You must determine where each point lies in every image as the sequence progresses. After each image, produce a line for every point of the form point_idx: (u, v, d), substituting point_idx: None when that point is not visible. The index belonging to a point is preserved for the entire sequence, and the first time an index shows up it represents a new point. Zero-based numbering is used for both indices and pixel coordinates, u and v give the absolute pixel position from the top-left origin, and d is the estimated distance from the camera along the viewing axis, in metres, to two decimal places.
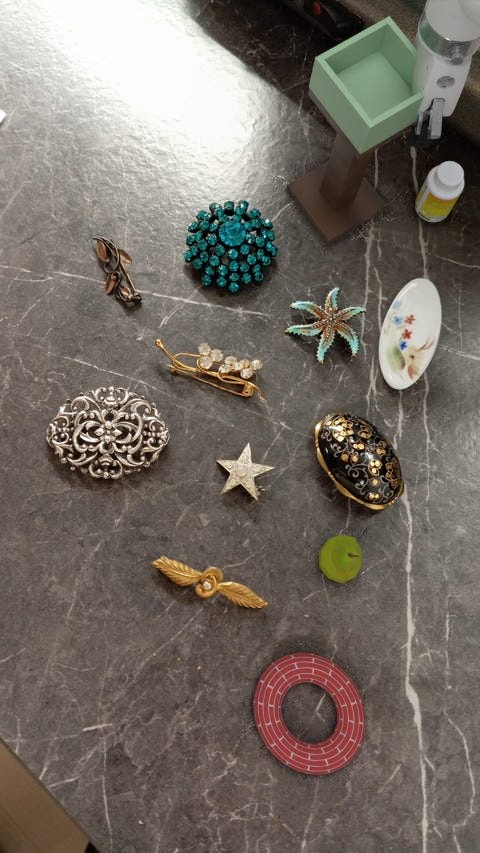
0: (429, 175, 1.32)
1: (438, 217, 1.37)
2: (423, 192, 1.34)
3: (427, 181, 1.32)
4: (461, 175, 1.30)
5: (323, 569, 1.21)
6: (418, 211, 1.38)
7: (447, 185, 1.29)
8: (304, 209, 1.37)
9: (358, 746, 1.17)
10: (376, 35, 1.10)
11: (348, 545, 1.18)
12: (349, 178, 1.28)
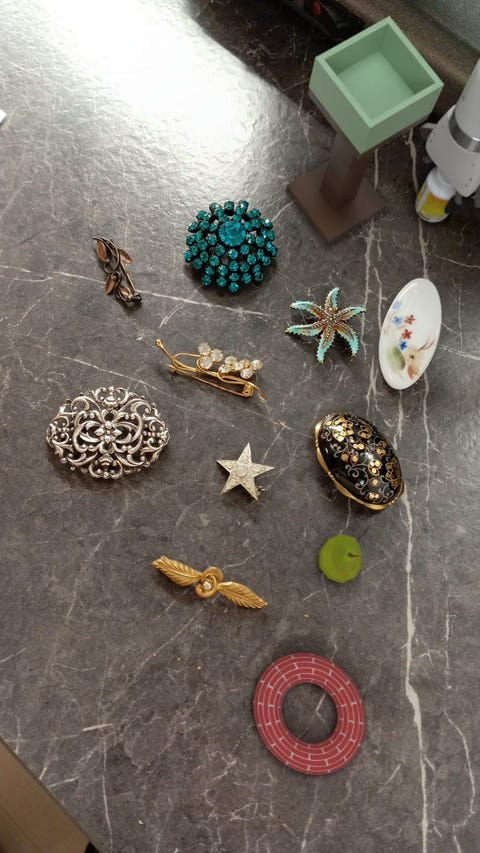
0: (429, 175, 1.32)
1: (438, 217, 1.37)
2: (423, 192, 1.34)
3: (427, 181, 1.32)
4: None
5: (323, 569, 1.21)
6: (418, 211, 1.38)
7: (447, 185, 1.29)
8: (304, 209, 1.37)
9: (358, 746, 1.17)
10: (376, 35, 1.10)
11: (348, 545, 1.18)
12: (349, 178, 1.28)
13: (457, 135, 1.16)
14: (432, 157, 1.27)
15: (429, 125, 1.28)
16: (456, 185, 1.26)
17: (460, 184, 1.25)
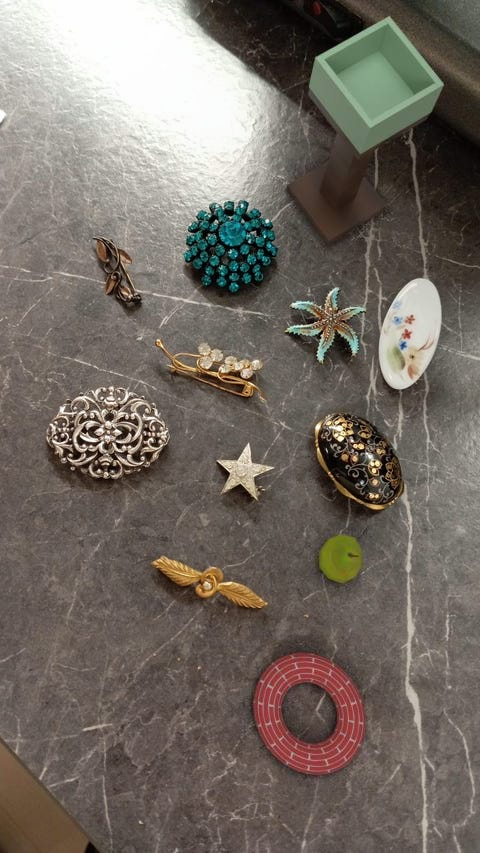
0: None
1: None
2: None
3: None
4: None
5: (323, 569, 1.21)
6: None
7: None
8: (304, 209, 1.37)
9: (358, 746, 1.17)
10: (376, 35, 1.10)
11: (348, 545, 1.18)
12: (349, 178, 1.28)
13: None
14: None
15: None
16: None
17: None
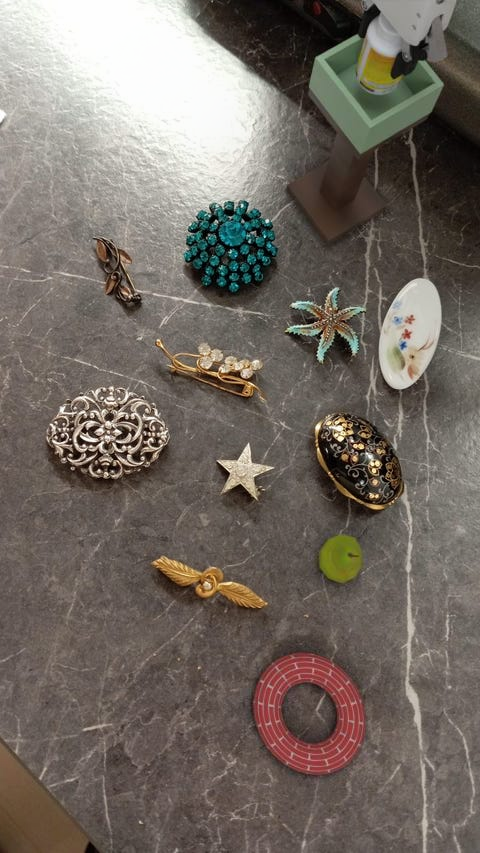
0: (370, 25, 1.01)
1: (384, 87, 1.07)
2: (364, 51, 1.03)
3: (367, 33, 1.02)
4: None
5: (323, 569, 1.21)
6: (359, 80, 1.08)
7: (391, 34, 0.99)
8: (304, 209, 1.37)
9: (358, 746, 1.17)
10: None
11: (348, 545, 1.18)
12: (349, 178, 1.28)
13: None
14: None
15: None
16: (402, 30, 0.96)
17: (406, 27, 0.95)
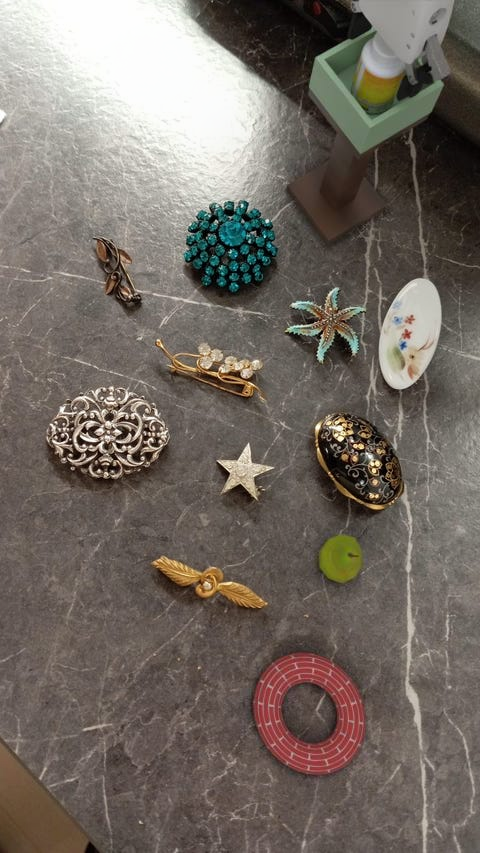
0: (364, 47, 1.05)
1: (378, 106, 1.10)
2: (358, 72, 1.07)
3: (362, 55, 1.05)
4: None
5: (323, 569, 1.21)
6: None
7: (385, 57, 1.03)
8: (304, 209, 1.37)
9: (358, 746, 1.17)
10: None
11: (348, 545, 1.18)
12: (349, 178, 1.28)
13: None
14: (367, 15, 1.00)
15: None
16: (396, 49, 0.99)
17: (401, 46, 0.98)
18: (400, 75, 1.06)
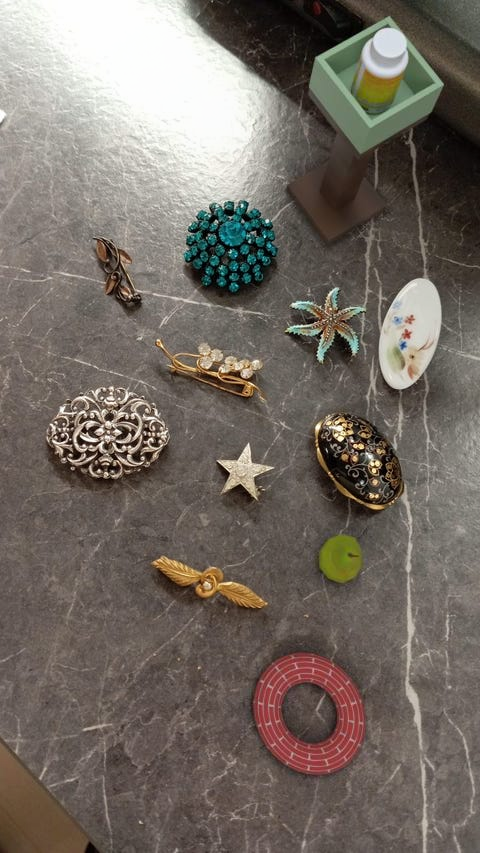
0: (364, 47, 1.05)
1: (378, 106, 1.10)
2: (358, 72, 1.07)
3: (362, 55, 1.05)
4: (403, 45, 1.03)
5: (323, 569, 1.21)
6: None
7: (385, 57, 1.03)
8: (304, 209, 1.37)
9: (358, 746, 1.17)
10: None
11: (348, 545, 1.18)
12: (349, 178, 1.28)
13: None
14: None
15: None
16: None
17: None
18: (400, 75, 1.06)
